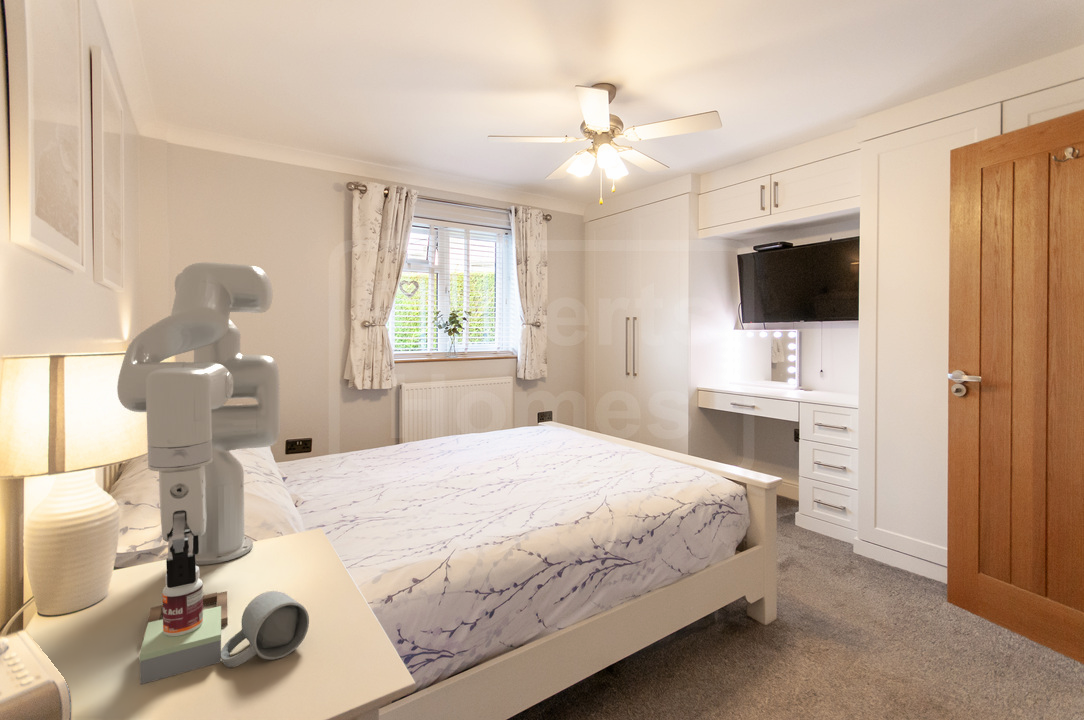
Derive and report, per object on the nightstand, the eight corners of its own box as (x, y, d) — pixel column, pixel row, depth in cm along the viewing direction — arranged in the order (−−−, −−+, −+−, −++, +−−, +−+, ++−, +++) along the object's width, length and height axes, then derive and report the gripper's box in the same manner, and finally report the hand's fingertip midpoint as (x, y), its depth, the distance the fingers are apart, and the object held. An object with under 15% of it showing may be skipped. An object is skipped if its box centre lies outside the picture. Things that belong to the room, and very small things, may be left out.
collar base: (151, 613, 84) (151, 606, 84) (227, 596, 90) (227, 590, 90) (142, 647, 75) (142, 639, 75) (227, 625, 81) (227, 618, 81)
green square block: (148, 649, 75) (148, 622, 74) (221, 630, 79) (221, 605, 79) (139, 684, 67) (139, 655, 67) (221, 662, 72) (220, 634, 72)
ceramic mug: (289, 624, 81) (287, 578, 81) (310, 645, 76) (309, 595, 75) (213, 655, 74) (211, 604, 73) (231, 681, 68) (229, 626, 68)
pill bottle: (154, 635, 71) (152, 577, 71) (184, 617, 76) (183, 562, 76) (182, 639, 70) (181, 580, 70) (211, 620, 75) (210, 565, 75)
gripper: (211, 466, 67) (213, 590, 68) (213, 438, 82) (215, 541, 83) (139, 474, 63) (143, 605, 64) (155, 443, 78) (158, 551, 79)
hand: (184, 569), depth 74 cm, fingers open, 9 cm apart
